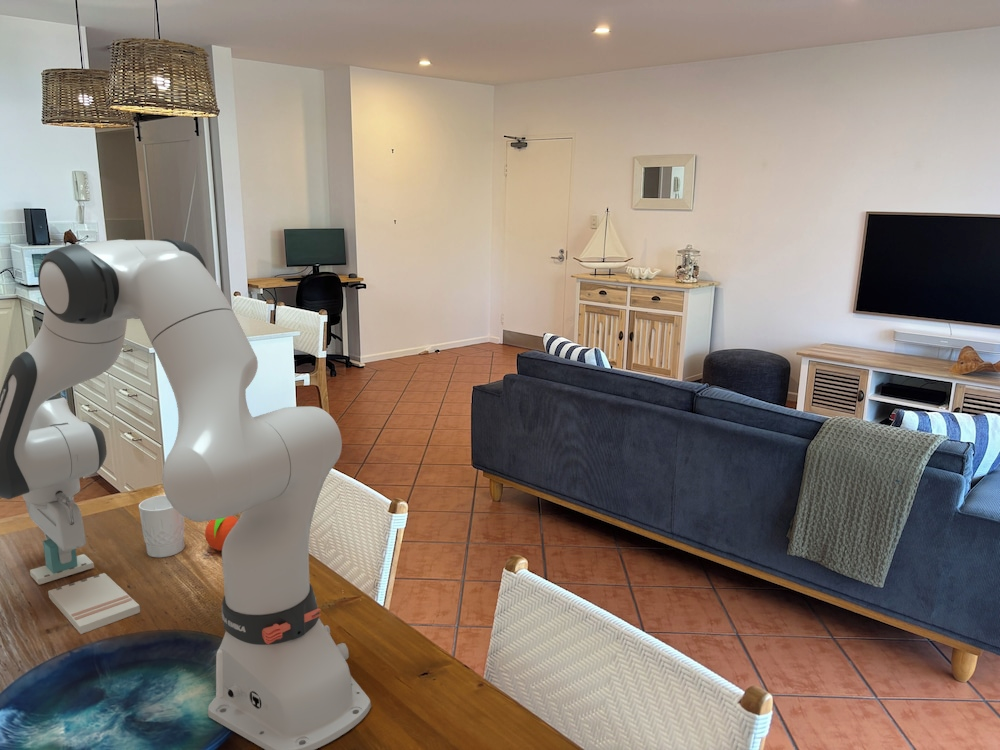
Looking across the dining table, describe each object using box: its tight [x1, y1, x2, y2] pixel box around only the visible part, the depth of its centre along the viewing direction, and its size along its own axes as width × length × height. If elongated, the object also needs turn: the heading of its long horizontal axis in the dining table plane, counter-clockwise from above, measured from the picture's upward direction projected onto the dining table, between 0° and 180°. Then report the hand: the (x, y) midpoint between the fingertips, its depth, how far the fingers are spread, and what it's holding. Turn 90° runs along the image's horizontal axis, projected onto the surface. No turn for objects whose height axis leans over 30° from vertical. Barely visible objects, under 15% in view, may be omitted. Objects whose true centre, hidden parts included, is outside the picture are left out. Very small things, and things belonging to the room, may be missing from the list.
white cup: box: [138, 494, 186, 559], centre depth 143 cm, size 8×8×10 cm
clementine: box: [204, 516, 239, 552], centre depth 143 cm, size 8×7×7 cm
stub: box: [29, 539, 95, 585], centre depth 134 cm, size 5×9×6 cm, turn 137°
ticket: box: [47, 572, 141, 635], centre depth 124 cm, size 16×9×1 cm, turn 47°
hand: (60, 556), depth 134 cm, fingers closed on stub, 4 cm apart
